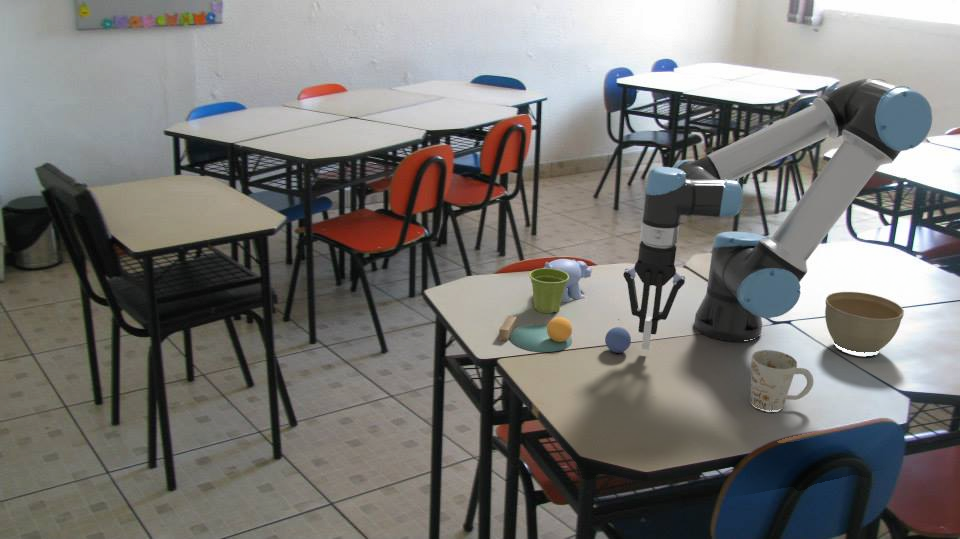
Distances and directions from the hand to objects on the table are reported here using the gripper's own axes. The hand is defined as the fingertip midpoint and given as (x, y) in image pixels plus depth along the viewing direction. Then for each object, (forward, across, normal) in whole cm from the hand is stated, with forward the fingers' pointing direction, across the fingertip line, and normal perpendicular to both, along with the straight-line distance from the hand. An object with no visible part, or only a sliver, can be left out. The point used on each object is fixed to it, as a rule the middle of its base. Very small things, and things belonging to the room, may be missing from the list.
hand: (645, 346), depth 196 cm
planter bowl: (+2, +45, +20) cm, 49 cm away
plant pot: (+2, -25, +17) cm, 30 cm away
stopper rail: (+2, -30, 0) cm, 31 cm away
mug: (+2, +27, -14) cm, 30 cm away
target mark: (+2, -23, 0) cm, 23 cm away
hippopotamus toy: (+2, -23, +29) cm, 37 cm away
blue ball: (-1, -6, -1) cm, 6 cm away
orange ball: (-1, -19, 0) cm, 19 cm away
